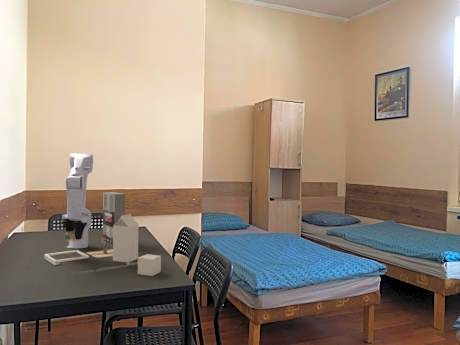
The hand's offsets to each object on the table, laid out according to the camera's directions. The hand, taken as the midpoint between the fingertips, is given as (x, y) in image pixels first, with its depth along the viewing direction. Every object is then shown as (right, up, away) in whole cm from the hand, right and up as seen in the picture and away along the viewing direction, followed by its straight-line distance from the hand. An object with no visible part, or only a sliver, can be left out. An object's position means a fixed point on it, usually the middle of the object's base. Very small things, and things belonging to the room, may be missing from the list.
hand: (74, 238), depth 157 cm
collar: (-1, -1, -1) cm, 1 cm away
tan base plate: (+11, -9, +7) cm, 15 cm away
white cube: (+35, -10, -18) cm, 40 cm away
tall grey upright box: (+7, -8, +29) cm, 31 cm away
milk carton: (+22, -9, -3) cm, 24 cm away
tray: (-3, -8, -1) cm, 9 cm away
